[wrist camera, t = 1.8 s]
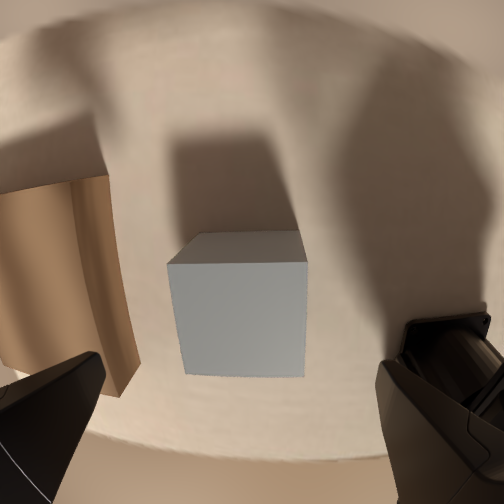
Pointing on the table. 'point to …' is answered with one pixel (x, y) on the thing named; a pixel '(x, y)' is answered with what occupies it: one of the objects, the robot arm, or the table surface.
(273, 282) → the slate cube
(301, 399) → the table surface
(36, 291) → the block
